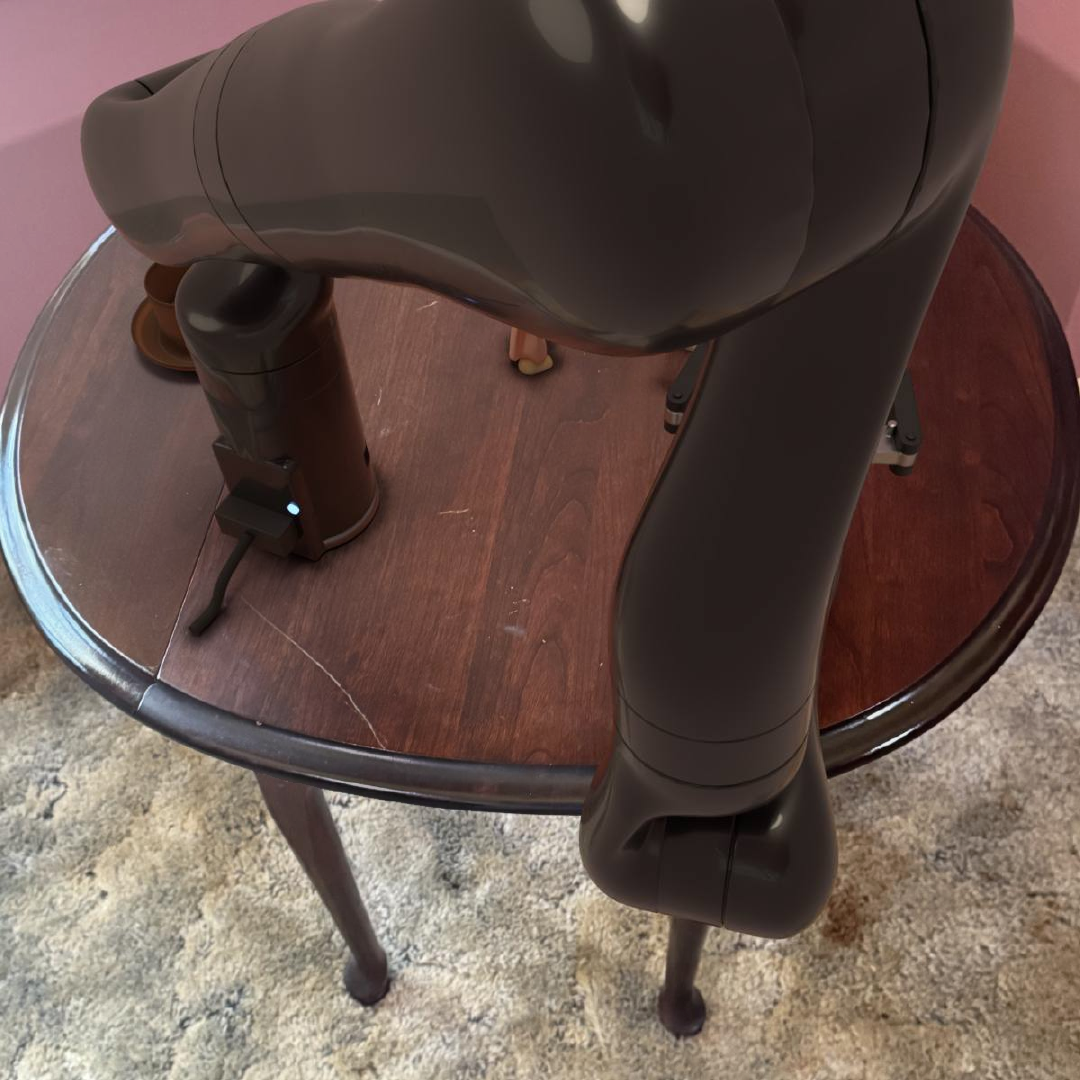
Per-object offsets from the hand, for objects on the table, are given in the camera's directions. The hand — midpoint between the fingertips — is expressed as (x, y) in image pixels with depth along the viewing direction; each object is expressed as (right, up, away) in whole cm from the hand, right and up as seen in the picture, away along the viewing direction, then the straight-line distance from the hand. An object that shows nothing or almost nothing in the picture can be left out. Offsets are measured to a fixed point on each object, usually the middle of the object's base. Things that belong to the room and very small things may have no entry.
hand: (811, 316), depth 66 cm
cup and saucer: (-43, +4, +27) cm, 51 cm away
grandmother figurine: (-17, +1, +24) cm, 29 cm away
